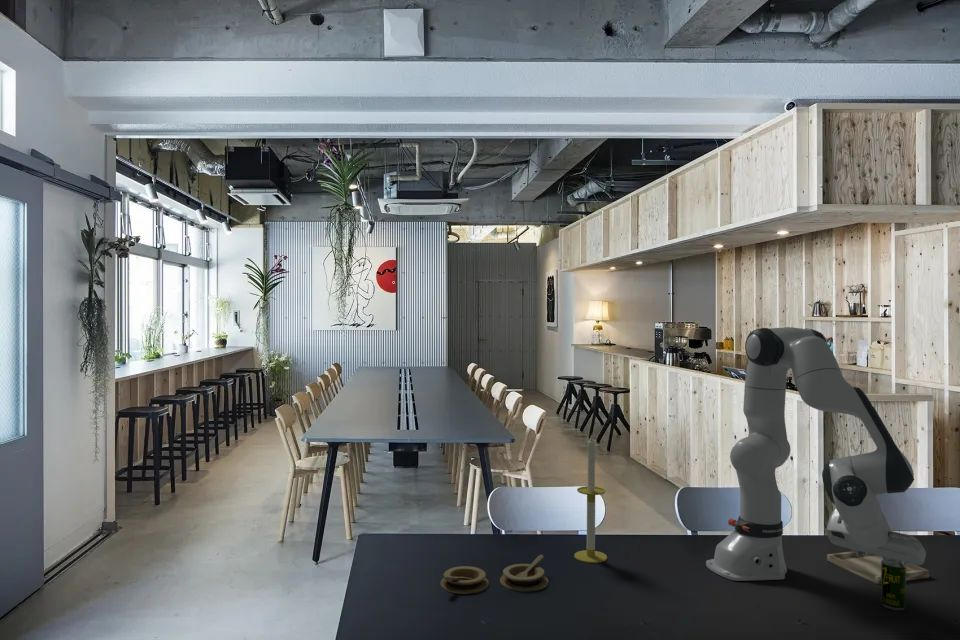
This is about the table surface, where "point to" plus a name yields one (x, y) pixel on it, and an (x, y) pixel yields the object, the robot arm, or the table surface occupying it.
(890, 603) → the beer can
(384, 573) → the table surface
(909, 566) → the birch tray
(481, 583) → the tableware set
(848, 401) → the robot arm
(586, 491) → the candle
